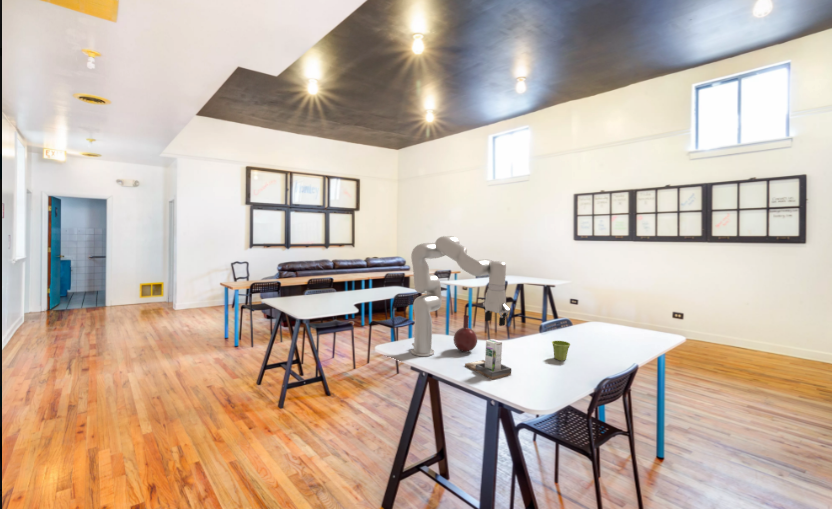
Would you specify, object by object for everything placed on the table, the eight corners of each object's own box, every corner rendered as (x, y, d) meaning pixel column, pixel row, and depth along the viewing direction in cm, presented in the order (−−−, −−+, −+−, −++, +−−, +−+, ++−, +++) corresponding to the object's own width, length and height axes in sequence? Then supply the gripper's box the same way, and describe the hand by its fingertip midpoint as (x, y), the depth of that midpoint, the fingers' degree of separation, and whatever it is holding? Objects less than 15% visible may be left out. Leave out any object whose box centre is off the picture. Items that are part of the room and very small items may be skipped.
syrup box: (484, 370, 205) (485, 340, 203) (491, 367, 209) (493, 338, 207) (493, 373, 200) (494, 343, 199) (501, 370, 204) (502, 341, 203)
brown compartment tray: (465, 366, 213) (465, 359, 213) (483, 362, 219) (483, 356, 219) (492, 379, 196) (492, 372, 196) (511, 374, 202) (511, 368, 202)
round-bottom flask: (476, 355, 230) (478, 319, 228) (452, 353, 232) (453, 317, 230) (477, 348, 242) (478, 314, 241) (453, 346, 244) (455, 312, 243)
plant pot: (570, 362, 223) (571, 346, 222) (552, 360, 225) (552, 344, 224) (568, 356, 232) (569, 341, 231) (550, 355, 234) (550, 339, 233)
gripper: (478, 285, 206) (477, 319, 208) (503, 291, 191) (501, 328, 193) (490, 284, 210) (488, 318, 212) (515, 290, 195) (513, 326, 197)
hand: (494, 323), depth 202 cm, fingers open, 9 cm apart
